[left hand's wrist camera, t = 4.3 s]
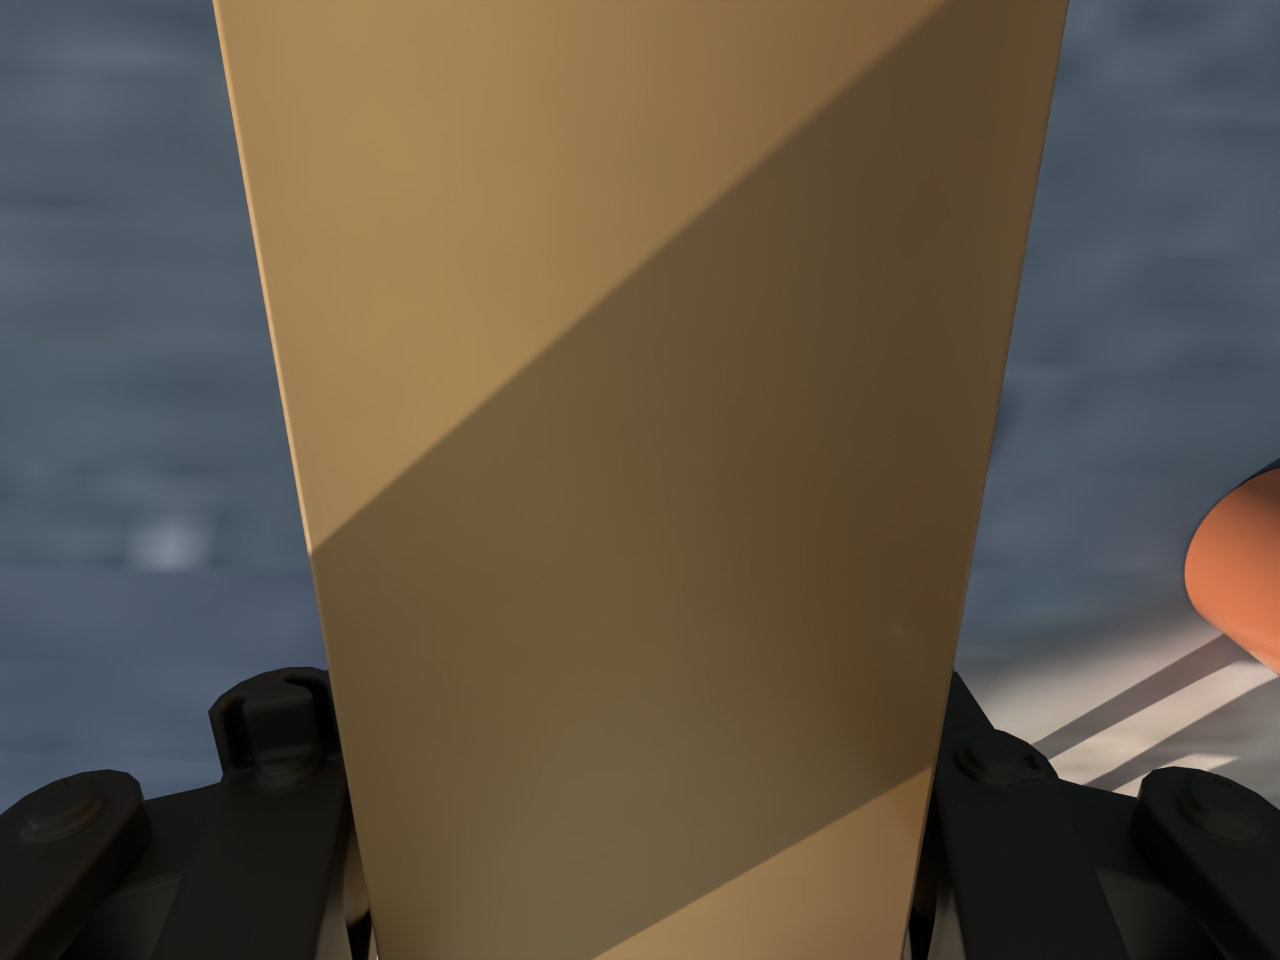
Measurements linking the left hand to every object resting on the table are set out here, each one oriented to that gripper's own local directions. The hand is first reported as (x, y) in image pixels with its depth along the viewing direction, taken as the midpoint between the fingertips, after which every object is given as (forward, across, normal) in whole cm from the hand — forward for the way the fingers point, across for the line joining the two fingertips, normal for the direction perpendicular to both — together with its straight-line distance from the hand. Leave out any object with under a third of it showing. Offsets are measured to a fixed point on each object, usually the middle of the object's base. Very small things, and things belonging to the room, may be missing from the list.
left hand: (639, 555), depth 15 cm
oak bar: (0, 0, +9) cm, 9 cm away
